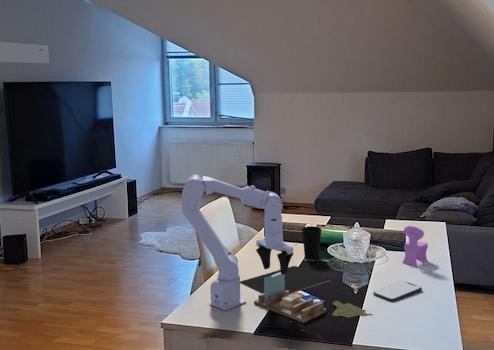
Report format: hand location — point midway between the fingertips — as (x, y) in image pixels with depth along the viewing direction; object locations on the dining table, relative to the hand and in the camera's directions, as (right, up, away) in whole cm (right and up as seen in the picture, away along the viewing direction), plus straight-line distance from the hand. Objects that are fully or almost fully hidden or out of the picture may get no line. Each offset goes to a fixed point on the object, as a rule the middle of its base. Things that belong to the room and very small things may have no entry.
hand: (275, 270), depth 188 cm
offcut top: (+5, -9, -3) cm, 11 cm away
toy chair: (+56, -3, +38) cm, 68 cm away
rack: (+4, -11, -4) cm, 13 cm away
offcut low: (+5, -10, -4) cm, 12 cm away
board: (0, -9, +2) cm, 9 cm away
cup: (+17, -2, +45) cm, 48 cm away
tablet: (+4, -8, +20) cm, 22 cm away
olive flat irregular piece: (+23, -12, -9) cm, 28 cm away
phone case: (+42, -9, +7) cm, 43 cm away
